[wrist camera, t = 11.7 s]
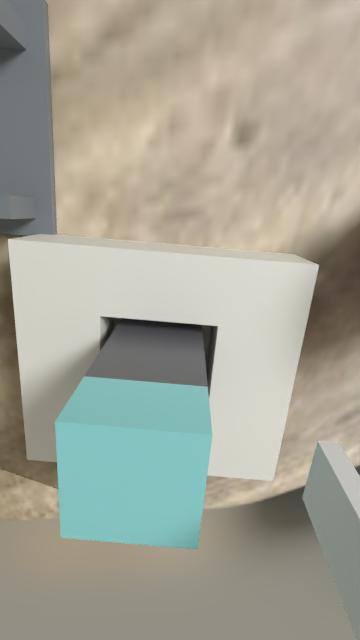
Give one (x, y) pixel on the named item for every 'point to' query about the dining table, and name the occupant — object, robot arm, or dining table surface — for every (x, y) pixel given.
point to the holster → (26, 120)
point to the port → (168, 306)
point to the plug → (137, 439)
